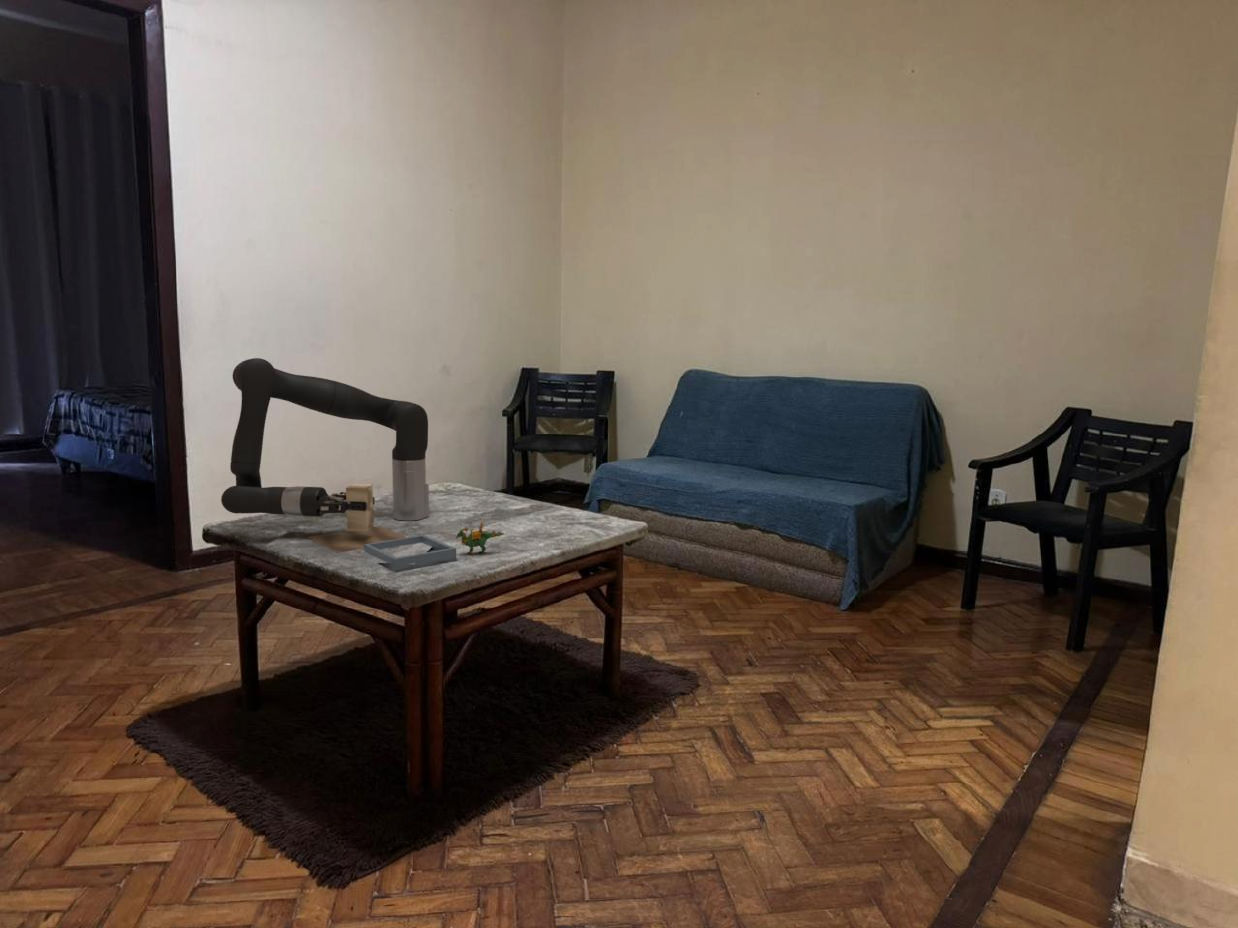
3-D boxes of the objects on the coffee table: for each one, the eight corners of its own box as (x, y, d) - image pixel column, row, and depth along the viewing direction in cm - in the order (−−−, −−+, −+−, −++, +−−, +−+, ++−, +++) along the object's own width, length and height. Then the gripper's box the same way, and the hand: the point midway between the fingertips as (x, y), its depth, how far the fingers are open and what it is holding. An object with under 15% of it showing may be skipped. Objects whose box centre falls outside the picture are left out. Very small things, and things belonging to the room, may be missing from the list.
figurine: (455, 553, 216) (455, 521, 215) (503, 550, 220) (503, 518, 218) (456, 556, 213) (456, 524, 212) (505, 553, 217) (505, 521, 215)
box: (423, 546, 222) (423, 534, 221) (456, 560, 210) (456, 548, 209) (364, 556, 211) (363, 544, 211) (395, 572, 199) (395, 559, 199)
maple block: (354, 525, 224) (353, 483, 222) (373, 526, 224) (372, 484, 222) (347, 530, 219) (345, 487, 217) (366, 531, 219) (365, 488, 217)
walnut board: (380, 531, 235) (380, 525, 235) (412, 545, 222) (412, 539, 221) (307, 542, 222) (307, 536, 222) (336, 558, 209) (336, 552, 208)
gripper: (291, 492, 213) (359, 495, 212) (315, 481, 227) (379, 483, 226) (293, 522, 215) (360, 525, 214) (316, 509, 229) (380, 511, 228)
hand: (370, 503), depth 220 cm, fingers closed on maple block, 5 cm apart
